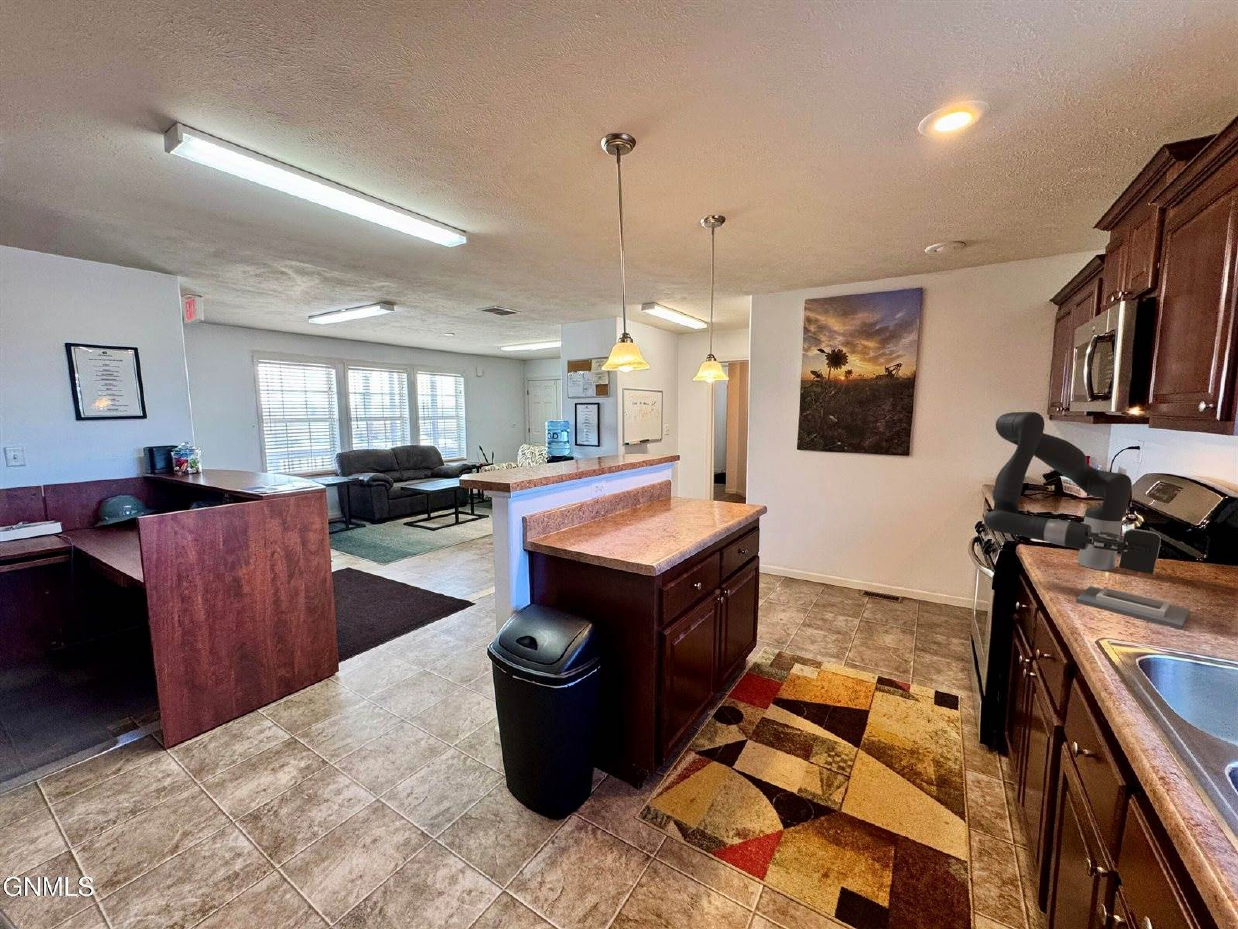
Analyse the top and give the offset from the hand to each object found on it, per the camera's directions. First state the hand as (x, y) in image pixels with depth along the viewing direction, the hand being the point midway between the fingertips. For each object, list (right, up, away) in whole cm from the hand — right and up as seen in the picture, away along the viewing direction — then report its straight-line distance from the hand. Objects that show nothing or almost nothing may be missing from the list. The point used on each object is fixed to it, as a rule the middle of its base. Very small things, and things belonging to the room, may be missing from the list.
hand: (1150, 549), depth 132 cm
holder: (-1, -17, +4) cm, 18 cm away
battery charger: (-1, -6, +3) cm, 7 cm away
